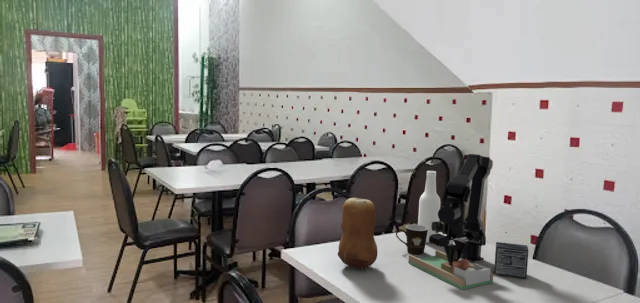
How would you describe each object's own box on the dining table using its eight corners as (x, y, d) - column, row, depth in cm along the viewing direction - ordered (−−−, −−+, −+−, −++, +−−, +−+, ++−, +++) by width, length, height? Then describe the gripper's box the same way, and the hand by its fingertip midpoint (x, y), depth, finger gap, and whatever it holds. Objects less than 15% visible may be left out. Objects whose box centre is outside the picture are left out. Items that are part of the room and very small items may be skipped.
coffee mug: (429, 251, 193) (431, 227, 192) (422, 257, 186) (423, 231, 185) (402, 246, 199) (403, 222, 198) (394, 251, 192) (395, 226, 191)
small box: (525, 273, 172) (527, 244, 171) (526, 279, 166) (529, 250, 165) (494, 269, 175) (496, 240, 174) (494, 275, 169) (496, 246, 168)
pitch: (437, 257, 186) (437, 245, 185) (492, 282, 162) (493, 268, 162) (408, 262, 179) (408, 249, 178) (462, 289, 156) (463, 274, 155)
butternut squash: (369, 259, 181) (371, 194, 178) (382, 272, 168) (385, 202, 165) (333, 261, 178) (335, 195, 175) (343, 275, 165) (346, 203, 162)
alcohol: (417, 242, 204) (421, 172, 201) (416, 236, 213) (420, 169, 210) (438, 244, 203) (443, 173, 199) (437, 238, 212) (441, 170, 208)
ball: (481, 275, 160) (474, 280, 163) (475, 264, 162) (468, 269, 165) (472, 277, 158) (465, 282, 161) (467, 266, 160) (460, 271, 163)
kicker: (452, 266, 173) (453, 247, 172) (468, 273, 166) (469, 253, 166) (439, 268, 170) (441, 249, 169) (455, 276, 163) (456, 256, 163)
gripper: (459, 210, 178) (456, 251, 180) (419, 214, 169) (417, 258, 171) (482, 217, 168) (479, 260, 170) (441, 222, 159) (439, 268, 161)
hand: (453, 261), depth 168 cm, fingers closed on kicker, 3 cm apart
